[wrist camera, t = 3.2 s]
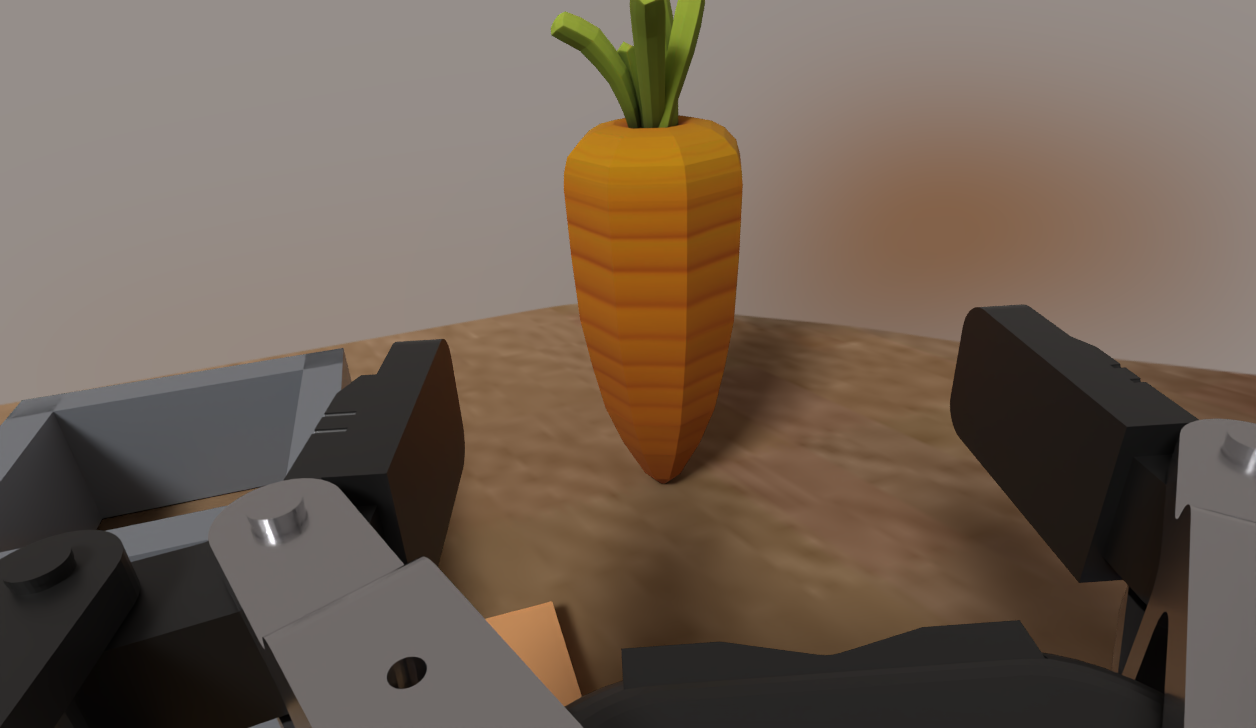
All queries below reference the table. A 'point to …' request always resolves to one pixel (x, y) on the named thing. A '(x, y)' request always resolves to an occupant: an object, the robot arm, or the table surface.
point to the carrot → (654, 237)
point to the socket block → (193, 468)
